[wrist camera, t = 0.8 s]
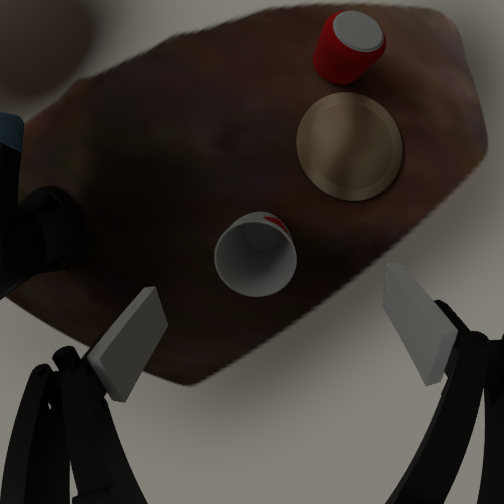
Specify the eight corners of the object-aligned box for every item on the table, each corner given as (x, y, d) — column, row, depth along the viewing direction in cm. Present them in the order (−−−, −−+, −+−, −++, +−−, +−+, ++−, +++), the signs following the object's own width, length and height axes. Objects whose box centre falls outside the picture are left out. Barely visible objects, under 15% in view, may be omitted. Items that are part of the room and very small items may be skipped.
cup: (302, 247, 37) (308, 279, 27) (247, 269, 39) (237, 306, 29) (277, 191, 35) (275, 206, 25) (220, 217, 36) (199, 240, 27)
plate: (294, 195, 35) (294, 196, 34) (297, 88, 30) (297, 86, 29) (395, 204, 33) (398, 205, 32) (400, 103, 28) (403, 102, 28)
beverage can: (307, 47, 27) (317, 4, 16) (352, 44, 26) (380, 6, 15) (318, 88, 29) (335, 58, 18) (363, 85, 28) (399, 58, 17)
